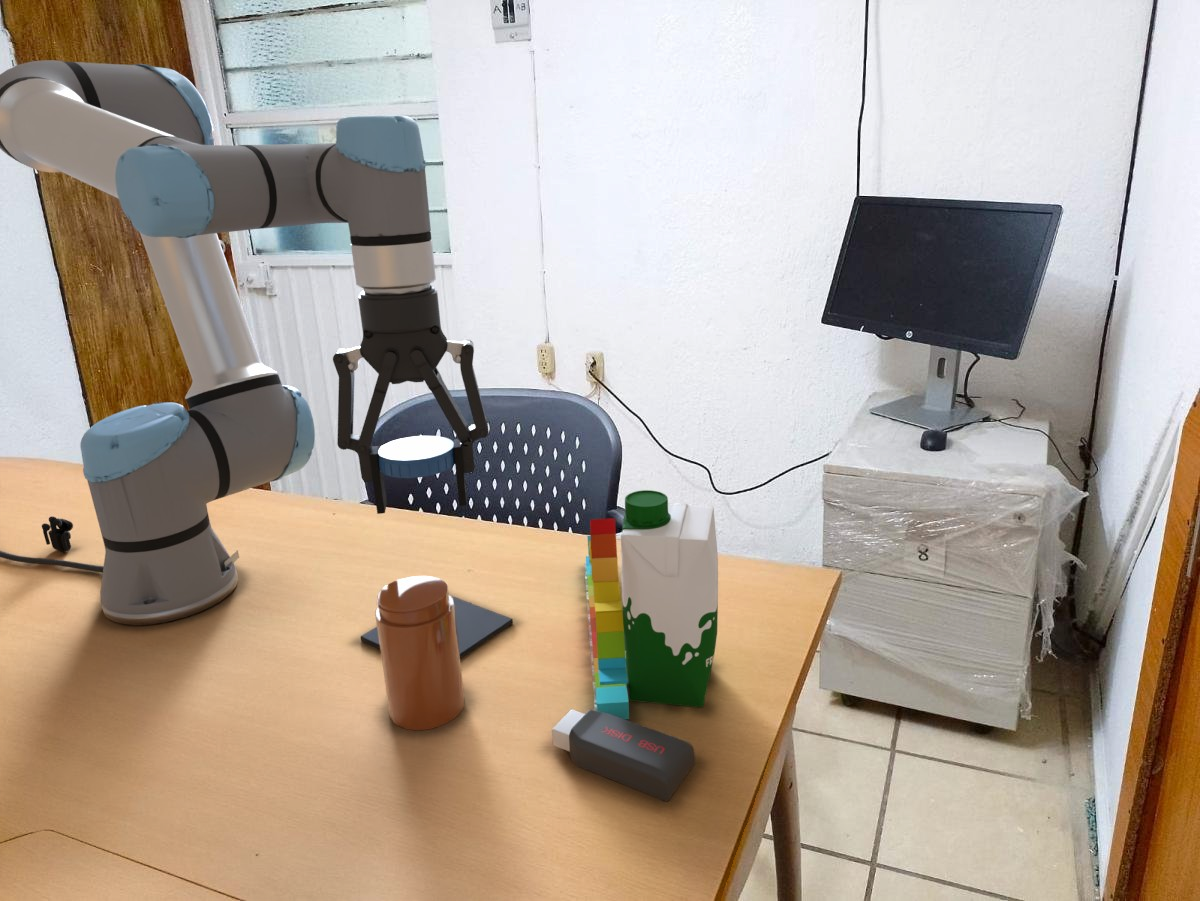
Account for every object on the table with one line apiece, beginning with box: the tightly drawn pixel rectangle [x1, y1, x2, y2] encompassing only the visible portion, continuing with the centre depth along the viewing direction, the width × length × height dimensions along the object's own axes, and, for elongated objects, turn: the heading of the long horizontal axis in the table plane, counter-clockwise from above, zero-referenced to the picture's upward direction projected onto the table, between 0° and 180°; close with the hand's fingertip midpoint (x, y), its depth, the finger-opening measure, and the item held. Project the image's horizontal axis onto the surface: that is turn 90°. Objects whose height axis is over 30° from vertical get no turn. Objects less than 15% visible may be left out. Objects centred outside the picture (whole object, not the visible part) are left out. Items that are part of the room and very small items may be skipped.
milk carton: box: [620, 489, 719, 708], centre depth 79 cm, size 9×9×20 cm
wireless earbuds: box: [41, 516, 74, 553], centre depth 117 cm, size 7×2×5 cm, turn 59°
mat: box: [360, 594, 514, 660], centre depth 93 cm, size 12×12×1 cm
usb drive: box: [551, 708, 696, 802], centre depth 72 cm, size 5×12×3 cm, turn 59°
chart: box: [584, 517, 630, 720], centre depth 89 cm, size 30×3×15 cm, turn 3°
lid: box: [378, 435, 455, 479], centre depth 86 cm, size 8×8×2 cm
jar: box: [374, 575, 465, 731], centre depth 79 cm, size 7×7×13 cm
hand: (422, 504), depth 88 cm, fingers closed on lid, 8 cm apart
